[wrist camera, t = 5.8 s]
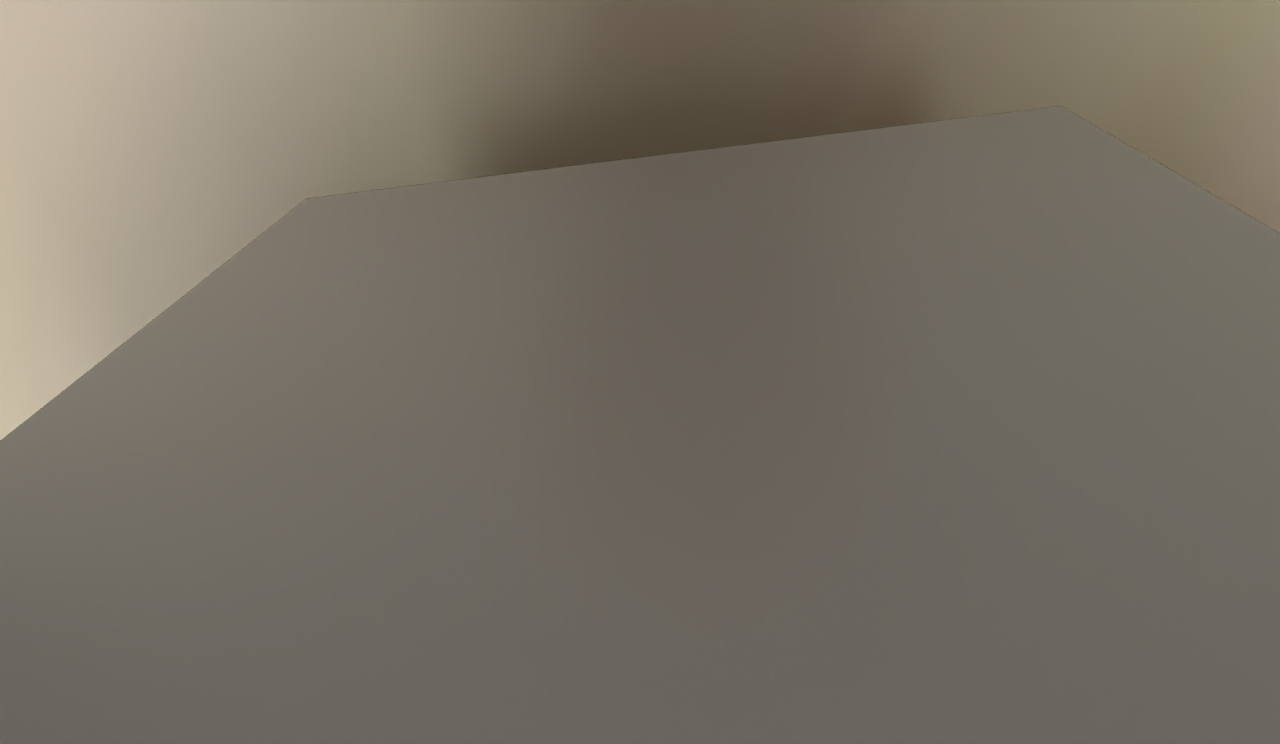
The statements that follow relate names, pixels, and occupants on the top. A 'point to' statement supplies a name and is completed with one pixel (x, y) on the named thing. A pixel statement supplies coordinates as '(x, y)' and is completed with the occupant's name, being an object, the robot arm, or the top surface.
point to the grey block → (680, 463)
